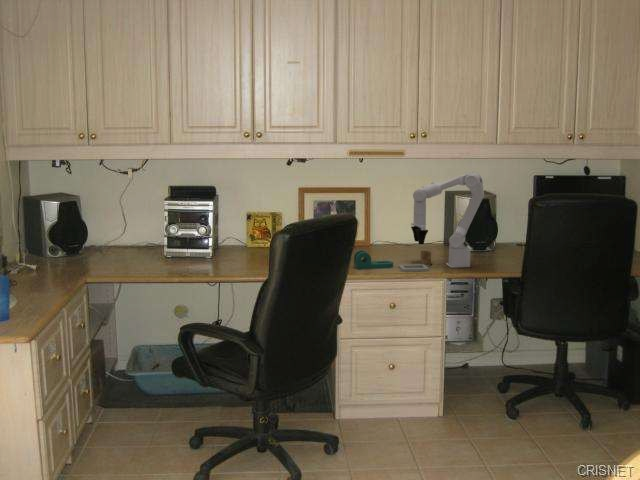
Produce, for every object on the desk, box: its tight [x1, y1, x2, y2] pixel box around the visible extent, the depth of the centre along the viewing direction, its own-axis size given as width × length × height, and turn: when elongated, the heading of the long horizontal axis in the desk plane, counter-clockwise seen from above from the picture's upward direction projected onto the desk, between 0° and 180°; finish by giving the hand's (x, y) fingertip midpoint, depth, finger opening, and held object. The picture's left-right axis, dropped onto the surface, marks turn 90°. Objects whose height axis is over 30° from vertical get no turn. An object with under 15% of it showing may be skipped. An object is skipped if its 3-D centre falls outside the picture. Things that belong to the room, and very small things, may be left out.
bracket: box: [353, 249, 394, 270], centre depth 322 cm, size 18×7×8 cm, turn 98°
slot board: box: [398, 263, 430, 273], centre depth 318 cm, size 12×9×1 cm
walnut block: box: [419, 250, 432, 266], centre depth 326 cm, size 4×4×6 cm
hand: (419, 242), depth 329 cm, fingers open, 7 cm apart
